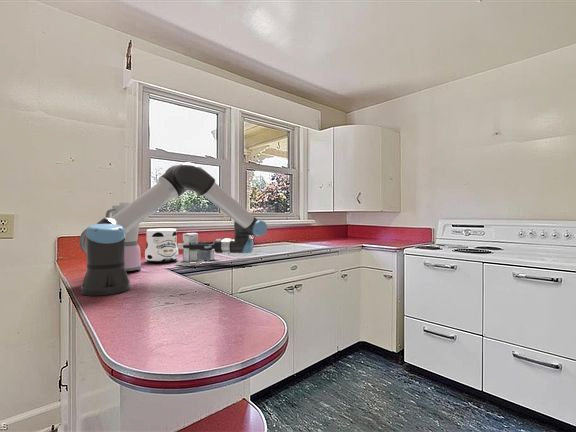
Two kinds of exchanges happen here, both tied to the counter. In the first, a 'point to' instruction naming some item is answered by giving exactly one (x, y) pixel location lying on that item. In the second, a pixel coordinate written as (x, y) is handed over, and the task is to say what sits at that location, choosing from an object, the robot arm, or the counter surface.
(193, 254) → the syrup box
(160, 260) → the milk container
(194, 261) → the steel flange
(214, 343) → the counter surface
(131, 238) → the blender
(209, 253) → the pillow block with shaft stub
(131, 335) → the counter surface
